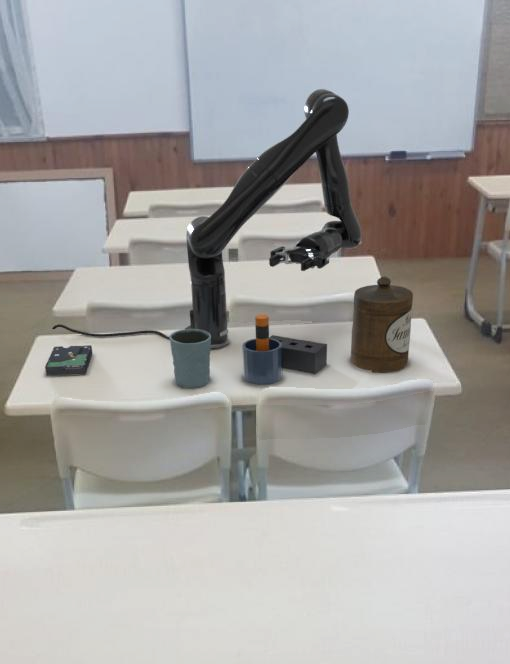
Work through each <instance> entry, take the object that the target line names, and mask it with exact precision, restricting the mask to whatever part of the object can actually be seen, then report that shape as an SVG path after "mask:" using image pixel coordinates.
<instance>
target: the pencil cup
mask: <svg viewBox="0 0 510 664" xmlns="http://www.w3.org/2000/svg"><path fill="white" fill-rule="evenodd" d="M241 347H242V368H243V369H242V371H243V373H242V374H243V380H244V381H245V382H246V383H249V384H251V385H254V386H255V385H256V386H269V385H273V384H276V383H279V382H280V381H281V380H282V379H283V368H282V344H281V342H280V341H278V340H275V339H271V338H269V351H256V338H252V339H249V340H246V341H244V342H243V343H242V346H241Z"/></svg>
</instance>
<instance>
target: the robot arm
mask: <svg viewBox="0 0 510 664" xmlns="http://www.w3.org/2000/svg"><path fill="white" fill-rule="evenodd" d="M303 113H304V117H305V120H304V121H303V123H301V124H300V126H299V127H298V128H297V129H295V131H294V132H293V133H291V134H290V135H288V136H287V137H286V138H284V139H283V140H281V141H279V142H277V143H276V144H273V145H272V146H270V147H269V148H268V149H266V150H264V151H263V152H262V153H261V154H259V155H258V157H256V159H255V160H254V161H253V162H251V164H250V165H249V166H248V167H247V168H246V169H245V170H244V172H242V174H241V175H240V177H239V178H238V180H237V181H236V183H235V185H234V186H233V188H232V189H231V192H230V193H229V195H228V197H227V198H226V199H225V201H224V202H223V203H222V204H221V205H220V207H218V209H216V210H215V211H214V212H213V213H212V214H211V215H209V216H205V215H202V216H197V217H195V218H194V219H192V220H191V222H190V223H189V224H188V226H187V229H186V235H185V238H186V250H187V263H188V264H187V265H188V271H189V277H190V289H191V290H190V291H191V305H192V308H191V309H190V310H189V321H190V322H189V323H190V325H188V326H187V327H185V328H184V329H200V330H204V331H207V332H208V333H210V335H211V346H210V350H212V349H213V350H214V349H215V350H216V349H220V348H223V347H225V346H227V345H228V343H229V335H228V334H229V329H228V309H227V308H228V307H227V290H226V270H225V266H224V259H223V251H224V249H225V248H226V247H227V246H228V244H229V243H230V242H231V241H232V239H233V238H234V237H235V236H236V234H237V233H238V232H239V230H241V228H242V227H243V226H244V225H245V224H246V223H247V222H248V221H249V220H251V218H252V217H253V216H254V215H255V214H256V213H257V212H259V211H260V210H261V208H263V206H264V205H265V204H266V203H268V201H270V200H271V199H272V198H273V197H274V196H275V195H276V194H277V193H278V192H279V191H280V190H281V189H282V187H284V186H285V184H286V183H287V182H288V181H289V180H290V179H291V178H292V177H293V176H294V175H295V174H296V173H297V172H298V171H299V170H300V169H301V168H302V167H303V166H304V165H305V163H306V162H307V161H308V160H309V159H310V158H311V157H313V155H314V154H315V156H316V160H317V165H318V166H317V167H318V171H319V176H320V184H321V191H322V197H323V204H324V210H325V213H326V214H327V215H328V216H331V217H334V218H337V219H338V220H330V221H326V223H324V224H323V227H322V228H321V230H318V231H315V232H313V233H311V234H308V235H307V236H304V237H303V238H301V239H299V241H297V243H296V245H295V246H294V247H293V248H292V247H291V248H286V247H285V246H284V245H282V246H280V247H277V248H275V249H273V250H270V252H269V253H270V257H269V259H268V264H269V267H271V268H272V267H273V268H274V267H276V266H278V265H279V264H285V265H293V264H295V265H300V271H301V272H306V271H307V270H309V269H315V267H316V268H317V269H322V268H324V267H325V266H327V265H328V264H330V258H331V257H332V256H334V255H336V254H337V253H338V252H339V251H341V249H356V248H357V247H358V246H359V244H360V243H361V241H362V235H363V234H362V227H361V224H360V221H359V219H358V217H357V215H356V212H355V210H354V207H353V204H352V200H351V191H350V184H349V178H348V175H347V170H346V166H345V163H344V160H343V158H342V155H341V151H340V146H339V141H338V134H339V133H340V132H341V131H342V130H343V128H344V127H345V126H346V124H347V122H348V119H349V114H350V111H349V105H348V103H347V101H345V99H344V98H342V96H340V95H338V94H336V93H335V92H333V91H331V90H329V89H325V88H320V89H316V90H314V91H313V92H311V93H310V94H309V95H308V97H307V98H306V100H305V104H304V112H303ZM57 328H63V329H65V330H67V331H69V332H71V333H75V334H79V335H83V336H86V337H94V338H106V337H119V336H120V337H121V336H132V335H140V334H156V335H159V336H161V337H162V338H164V339H166V340H168V341H170V336H168V335H166V334H164V333H163V332H161V331H158V330H152V329H151V330H148V329H147V330H146V329H145V330H136V331H126V332H125V331H124V332H113V333H93V332H92V333H90V332H85V331H81V330H77V329H74V328H71V327H68V326H66V325H64V324H60V323H57V324H55V325H53V326H52V327H51V329H52V330H56V329H57Z"/></svg>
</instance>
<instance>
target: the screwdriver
mask: <svg viewBox="0 0 510 664" xmlns="http://www.w3.org/2000/svg"><path fill="white" fill-rule="evenodd" d="M254 319H255V325H254V326H255V327H254V328H255V339H256V351H269V337H270V322H269V321H270V319H269V315H267V314H256V315H255V317H254Z"/></svg>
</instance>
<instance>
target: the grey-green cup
mask: <svg viewBox="0 0 510 664" xmlns="http://www.w3.org/2000/svg"><path fill="white" fill-rule="evenodd" d="M169 337H170V340H169V344H170V351H171V356H172V365H173V374H174V375H173V376H174V382H175V383H176V385H177V386H178V387H180V388H184V389H197V388H203V387H205V386H206V385H209V382H210V379H211V378H210V375H211V369H210V368H211V367H210V365H211V361H210V360H211V357H210V356H211V349H210V346H211V335H210V333H208V332H207V331H204V330H200V329H185V328H184V329H178V330H176V331H174V332H172V333H170V335H169Z"/></svg>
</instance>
